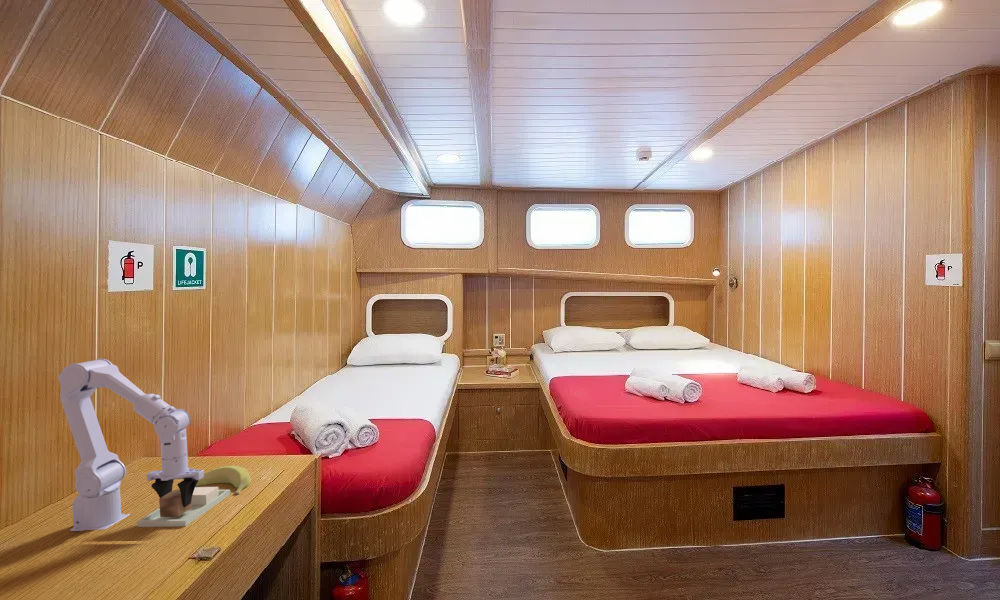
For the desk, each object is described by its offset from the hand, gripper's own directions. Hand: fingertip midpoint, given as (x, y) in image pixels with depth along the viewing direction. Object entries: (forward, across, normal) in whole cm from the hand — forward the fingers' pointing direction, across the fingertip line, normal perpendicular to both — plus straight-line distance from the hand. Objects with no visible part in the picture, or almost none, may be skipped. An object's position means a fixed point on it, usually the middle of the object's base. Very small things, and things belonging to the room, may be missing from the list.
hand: (177, 505), depth 121 cm
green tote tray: (+3, 0, +4) cm, 5 cm away
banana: (+4, +1, +18) cm, 18 cm away
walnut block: (+2, 0, 0) cm, 2 cm away
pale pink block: (+3, 0, +8) cm, 9 cm away
